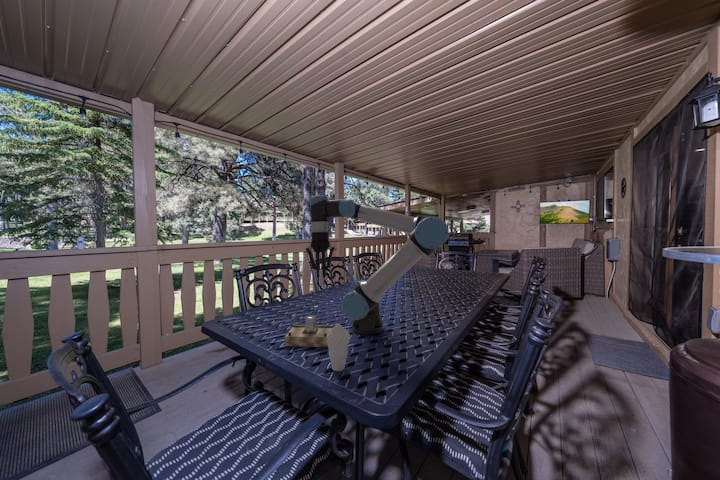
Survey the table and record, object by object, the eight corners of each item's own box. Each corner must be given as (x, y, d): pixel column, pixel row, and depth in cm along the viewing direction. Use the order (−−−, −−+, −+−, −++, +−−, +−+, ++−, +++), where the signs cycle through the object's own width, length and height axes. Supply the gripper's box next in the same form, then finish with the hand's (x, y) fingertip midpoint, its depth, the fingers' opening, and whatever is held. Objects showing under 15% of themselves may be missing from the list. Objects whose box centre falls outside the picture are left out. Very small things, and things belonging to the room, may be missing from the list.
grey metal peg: (317, 338, 118) (316, 315, 118) (314, 342, 114) (314, 319, 113) (307, 337, 119) (306, 315, 118) (304, 342, 114) (304, 319, 114)
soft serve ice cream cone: (326, 362, 97) (326, 319, 96) (349, 361, 98) (349, 318, 97) (325, 375, 89) (325, 328, 88) (351, 374, 90) (350, 327, 89)
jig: (333, 334, 122) (333, 324, 121) (328, 347, 110) (328, 334, 109) (294, 334, 123) (294, 323, 123) (285, 346, 111) (284, 334, 111)
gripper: (335, 230, 122) (337, 282, 123) (307, 231, 122) (308, 283, 124) (333, 231, 114) (335, 286, 116) (303, 232, 115) (305, 286, 116)
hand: (321, 284), depth 120 cm, fingers closed
